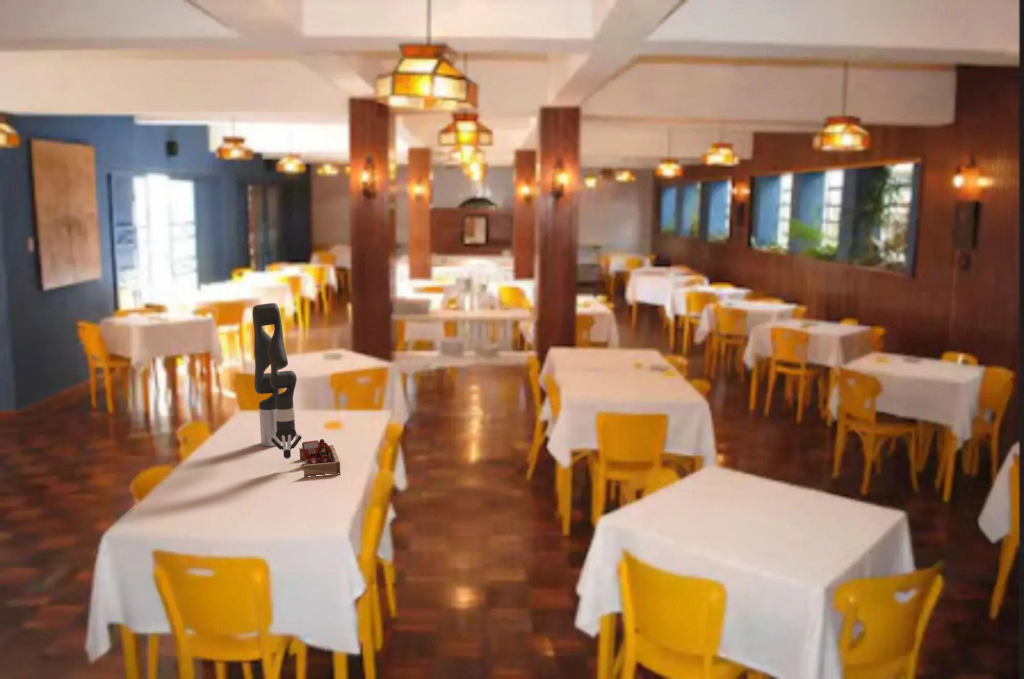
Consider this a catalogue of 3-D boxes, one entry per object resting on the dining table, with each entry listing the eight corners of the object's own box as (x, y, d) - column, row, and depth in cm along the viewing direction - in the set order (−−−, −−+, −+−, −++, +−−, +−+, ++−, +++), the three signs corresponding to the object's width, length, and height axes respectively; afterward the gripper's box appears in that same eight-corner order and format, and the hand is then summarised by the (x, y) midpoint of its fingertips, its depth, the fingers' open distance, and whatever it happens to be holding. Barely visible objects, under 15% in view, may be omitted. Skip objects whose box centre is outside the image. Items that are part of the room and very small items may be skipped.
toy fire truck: (334, 463, 390) (333, 439, 388) (305, 467, 384) (304, 444, 382) (329, 459, 396) (328, 436, 394) (301, 463, 390) (299, 440, 388)
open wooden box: (299, 459, 396) (299, 448, 395) (333, 456, 400) (333, 445, 399) (304, 477, 370) (303, 465, 370) (340, 474, 374) (339, 462, 374)
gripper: (300, 414, 383) (302, 454, 386) (268, 417, 379) (270, 457, 383) (302, 419, 376) (304, 459, 379) (269, 421, 372) (271, 462, 376)
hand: (287, 458), depth 381 cm, fingers closed
